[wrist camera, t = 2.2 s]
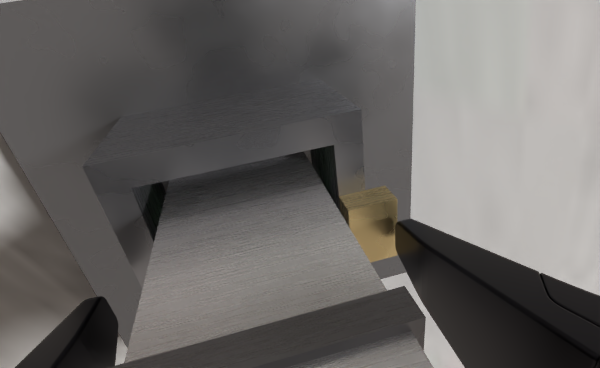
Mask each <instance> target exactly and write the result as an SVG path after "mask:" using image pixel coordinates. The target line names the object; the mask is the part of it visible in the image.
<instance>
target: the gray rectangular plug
mask: <svg viewBox="0 0 600 368" xmlns="http://www.w3.org/2000/svg"><path fill="white" fill-rule="evenodd" d="M162 183H163V186H164V189H165V191H166V196H165V200H164V204H163V208H162V212H161V216H160V220H159V224H158V228H157V232H156V236H155V240H154V244H153V248H152V252H151V256H150V260H149V265H148V269H147V273H146V277H145V281H144V285H143V289H142V293H141V297H140V301H139V305H138V309H137V313H136V317H135V321H134V325H133V329H132V333H131V337H130V342H129V346H128V350H127V354H126V358H125V362H124V364H120V365H116V366H113V367H109V368H433V366H432V364H431V363H430V361H429V359H428V358H427V356H426V354H425V353H424V334H425V318H426V317H425V316H424V314H423V313H422V311H421V310H420V308H419V307H418V305H417V304H416V302H415V301H414V299H413V298H412V296H411V295H410V293H409V292H408V290H407V289H406V287H405V286H403V287H399V288H395V289H392V290H388V291H387V289H386V288H385V286H384V284H383V283H382V281H381V279H380V278H379V276H378V274H377V273H376V271H375V269H374V268H373V266H372V264H371V263H370V261H369V259H368V258H367V256H366V254H365V253H364V251H363V249H362V248H361V246H360V244H359V243H358V241H357V239H356V238H355V236H354V234H353V233H352V231H351V229H350V228H349V226H348V224H347V223H346V221H345V219H344V218H343V216H342V214H341V213H340V211H339V210H338V208H337V206H336V205H335V203H334V201H333V200H332V198H331V196H330V195H329V193H328V191H327V190H326V188H325V186H324V185H323V183H322V181H321V180H320V178H319V176H318V175H317V173H316V171H315V170H314V168H313V166H312V160H311V153H310V150H307V151H303V152H298V153H293V154H289V155H284V156H279V157H275V158H270V159H266V160H261V161H256V162H252V163H247V164H242V165H238V166H233V167H228V168H224V169H219V170H214V171H210V172H205V173H201V174H196V175H191V176H187V177H182V178H177V179H173V180H168V181H163V182H162Z"/></svg>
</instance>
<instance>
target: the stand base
mask: <svg viewBox="0 0 600 368" xmlns="http://www.w3.org/2000/svg"><path fill="white" fill-rule="evenodd" d="M415 4H416V0H22V1H15V2H8V3H1V4H0V132H1V134H2V136H3V138H4V139H5V141H6V143H7V144H8V146H9V148H10V149H11V151H12V153H13V155H14V156H15V158H16V160H17V161H18V163H19V165H20V166H21V168H22V170H23V172H24V173H25V175H26V177H27V178H28V180H29V182H30V183H31V185H32V187H33V188H34V190H35V192H36V194H37V195H38V197H39V199H40V200H41V202H42V204H43V205H44V207H45V209H46V211H47V212H48V214H49V216H50V217H51V219H52V221H53V222H54V224H55V226H56V227H57V229H58V231H59V233H60V234H61V236H62V238H63V239H64V241H65V243H66V244H67V246H68V248H69V250H70V251H71V253H72V255H73V256H74V258H75V260H76V261H77V263H78V265H79V267H80V268H81V270H82V272H83V273H84V275H85V277H86V278H87V280H88V282H89V283H90V285H91V287H92V289H93V290H94V292H95V294H96V295H97V297H98V296H103V297H104V298H105V299H106V300H107V301H108V303H109V305H110V307H111V308H112V310H113V312H114V314H115V315H116V317H117V320H118V333H119V334H120V336H121V338H122V339H123V341H124V343H125V345H126V346H127V348H128V346H129V342H130V337H131V333H132V329H133V325H134V321H135V317H136V313H137V309H138V305H139V301H140V297H141V293H142V289H143V285H144V281H145V277H146V273H147V269H148V265H149V260H150V256H151V252H152V248H153V244H154V240H155V236H156V232H157V228H158V224H159V220H160V216H161V212H162V208H163V204H164V200H165V196H166V191H165V189H164V186H163V183H162V182H163V181H168V180H173V179H177V178H182V177H187V176H191V175H196V174H201V173H205V172H210V171H214V170H219V169H224V168H228V167H233V166H238V165H242V164H247V163H252V162H256V161H261V160H266V159H270V158H275V157H279V156H284V155H289V154H293V153H298V152H303V151H307V150H310V153H311V160H312V166H313V168H314V170H315V171H316V173H317V175H318V176H319V178H320V180H321V181H322V183H323V185H324V186H325V188H326V190H327V191H328V193H329V195H330V196H331V198H332V200H333V201H334V203H335V205H336V206H337V208H338V210H339V211H340V213H341V214H342V216H343V218H344V219H345V221H346V223H347V224H348V226H349V228H350V229H351V231H352V233H353V234H354V236H355V238H356V239H357V241H358V243H359V244H360V246H361V248H362V249H363V251H364V253H365V254H366V256H367V258H368V259H369V261H370V263H371V264H372V266H373V268H374V269H375V271H376V273H377V274H378V276H379V278H380V279H383V278H387V277H390V276H394V275H398V274H401V273H405V272H406V270H405V268H404V266H403V264H402V262H401V260H400V258H399V256H398V254H397V251H396V248H395V225H396V223H397V222H398V221H401V220H405V219H410V206H411V166H412V125H413V85H414V44H415Z"/></svg>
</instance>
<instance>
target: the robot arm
mask: <svg viewBox="0 0 600 368" xmlns="http://www.w3.org/2000/svg"><path fill="white" fill-rule="evenodd" d="M395 248H396V251H397V254H398V256H399V258H400V260H401V262H402V264H403V266H404V268H405V270H406V272H407V274H408V276H409V278H410V280H411V282H412V284H413V286H414V288H415V290H416V292H417V294H418V295H419V297H420V299H421V301H422V302H423V304H424V306H425V307H426V309H427V310H428V312H429V313H430V315H431V317H432V318H433V320H434V321H435V323H436V324H437V326H438V327H439V329H440V330H441V332H442V333H443V335H444V336H445V338H446V339H447V341H448V343H449V344H450V346H451V347H452V349H453V350H454V352H455V353H456V355H457V356H458V358H459V359H460V361H461V362H462V364H463V365H464V367H465V368H600V296H599V295H596V294H593V293H591V292H588V291H585V290H583V289H580V288H578V287H575V286H573V285H570V284H568V283H565V282H562V281H560V280H558V279H555V278H553V277H550V276H548V275H545V274H543V273H541V274H539V272H538V271H536V270H533V269H531V268H528V267H526V266H524V265H521V264H519V263H516V262H514V261H512V260H509V259H507V258H504V257H502V256H500V255H497V254H495V253H492V252H490V251H488V250H485V249H483V248H480V247H478V246H476V245H473V244H471V243H468V242H466V241H464V240H461V239H459V238H456V237H454V236H452V235H449V234H447V233H444V232H442V231H440V230H437V229H435V228H432V227H430V226H428V225H425V224H423V223H420V222H418V221H416V220H413V219H405V220H401V221H398V222H397V223H396V225H395ZM117 338H118V320H117V317H116V315H115V314H114V312H113V310H112V308H111V307H110V305H109V303H108V301H107V300H106V299H105V298H104V297H103V296H98V297H94V298H90V299H87V300H85V301H83V302H82V303H81V304H80V305H79V306H78V307H77V308H76V309H75V310H74V311H73V312H72V313H71V314H70V315H69V316H68V317H67V318H65V319H64V320H63V321H62V322H61V323H60V324H59V325H58V326H57V327H56V328H55V329H54V330H53V331H52V332H51V333H50V334H49V335H48V336H47V337H46V338H45V339H44V340H43V341H42V342H41V343H40V344H39V345H38V346H37V347H36V348H35V349H34V350H33V351H32V352H30V353H29V354H28V355H27V356H26V357H25V358H24V359H23V360H22V361H21V362H20V363H19V364H18V365H17V366H16V367H15V368H109V367H113V366H115V360H116V349H117Z"/></svg>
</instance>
